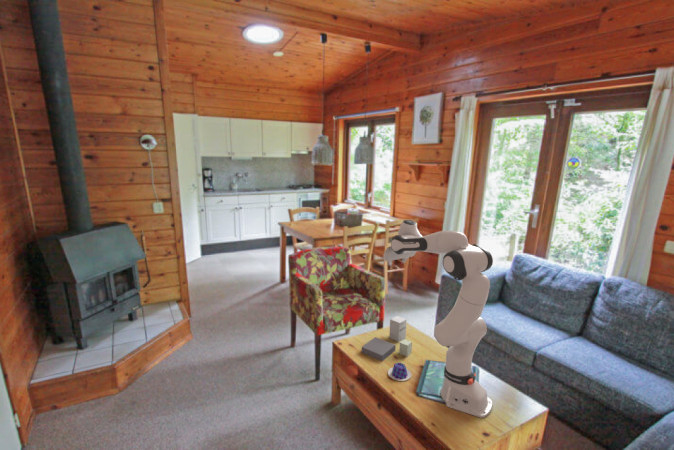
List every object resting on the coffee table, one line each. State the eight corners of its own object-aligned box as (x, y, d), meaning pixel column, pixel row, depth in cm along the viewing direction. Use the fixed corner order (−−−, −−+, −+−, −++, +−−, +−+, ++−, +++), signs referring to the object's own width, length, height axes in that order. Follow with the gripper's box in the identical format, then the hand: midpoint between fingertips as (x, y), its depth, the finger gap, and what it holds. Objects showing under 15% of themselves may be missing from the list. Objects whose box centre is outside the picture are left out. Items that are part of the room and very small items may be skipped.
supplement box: (398, 342, 208) (399, 323, 206) (389, 337, 214) (389, 319, 211) (406, 338, 213) (406, 319, 211) (396, 333, 219) (397, 315, 216)
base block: (395, 351, 200) (395, 344, 199) (382, 362, 190) (382, 355, 189) (375, 343, 209) (375, 337, 208) (361, 353, 198) (361, 346, 198)
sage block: (411, 352, 197) (411, 341, 196) (407, 356, 194) (407, 345, 192) (403, 349, 201) (404, 338, 199) (399, 353, 197) (399, 342, 195)
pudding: (416, 377, 176) (416, 367, 175) (398, 385, 170) (398, 375, 169) (400, 365, 186) (400, 356, 185) (383, 372, 180) (383, 363, 179)
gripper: (389, 251, 188) (384, 270, 195) (420, 245, 196) (413, 263, 204) (384, 244, 192) (378, 262, 200) (413, 239, 201) (407, 257, 208)
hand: (396, 263), depth 202 cm, fingers open, 8 cm apart
